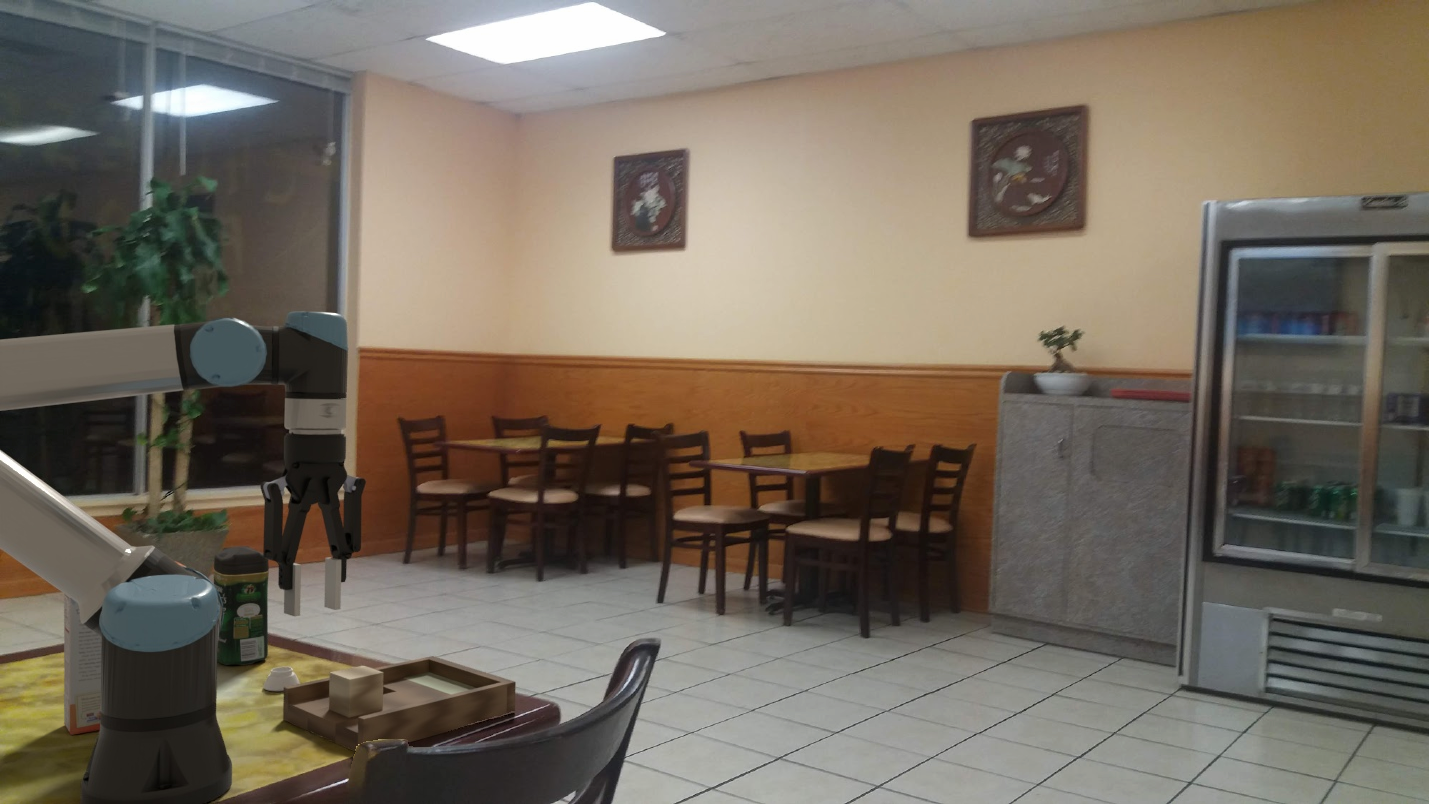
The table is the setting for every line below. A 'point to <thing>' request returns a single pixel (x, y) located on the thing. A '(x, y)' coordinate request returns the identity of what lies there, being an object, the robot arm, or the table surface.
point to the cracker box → (81, 672)
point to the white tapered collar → (280, 679)
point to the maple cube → (356, 691)
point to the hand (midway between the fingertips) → (312, 610)
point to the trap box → (405, 703)
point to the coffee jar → (242, 605)
